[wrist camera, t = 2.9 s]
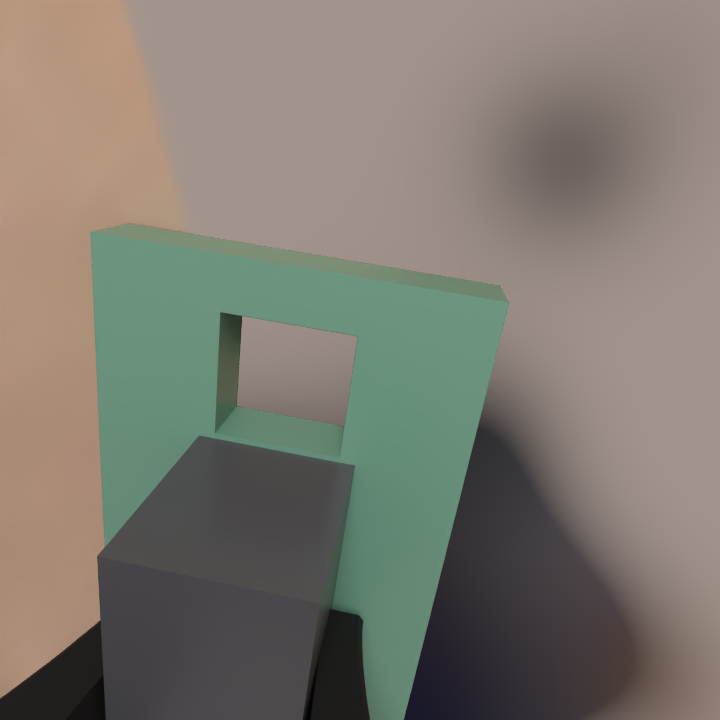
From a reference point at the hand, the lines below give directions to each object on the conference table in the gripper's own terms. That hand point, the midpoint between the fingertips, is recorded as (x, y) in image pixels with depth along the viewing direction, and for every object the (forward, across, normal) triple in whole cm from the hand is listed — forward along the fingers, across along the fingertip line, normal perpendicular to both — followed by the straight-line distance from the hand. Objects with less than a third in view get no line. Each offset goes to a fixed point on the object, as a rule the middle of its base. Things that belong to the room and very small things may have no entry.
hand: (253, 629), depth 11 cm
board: (+2, 0, 0) cm, 2 cm away
